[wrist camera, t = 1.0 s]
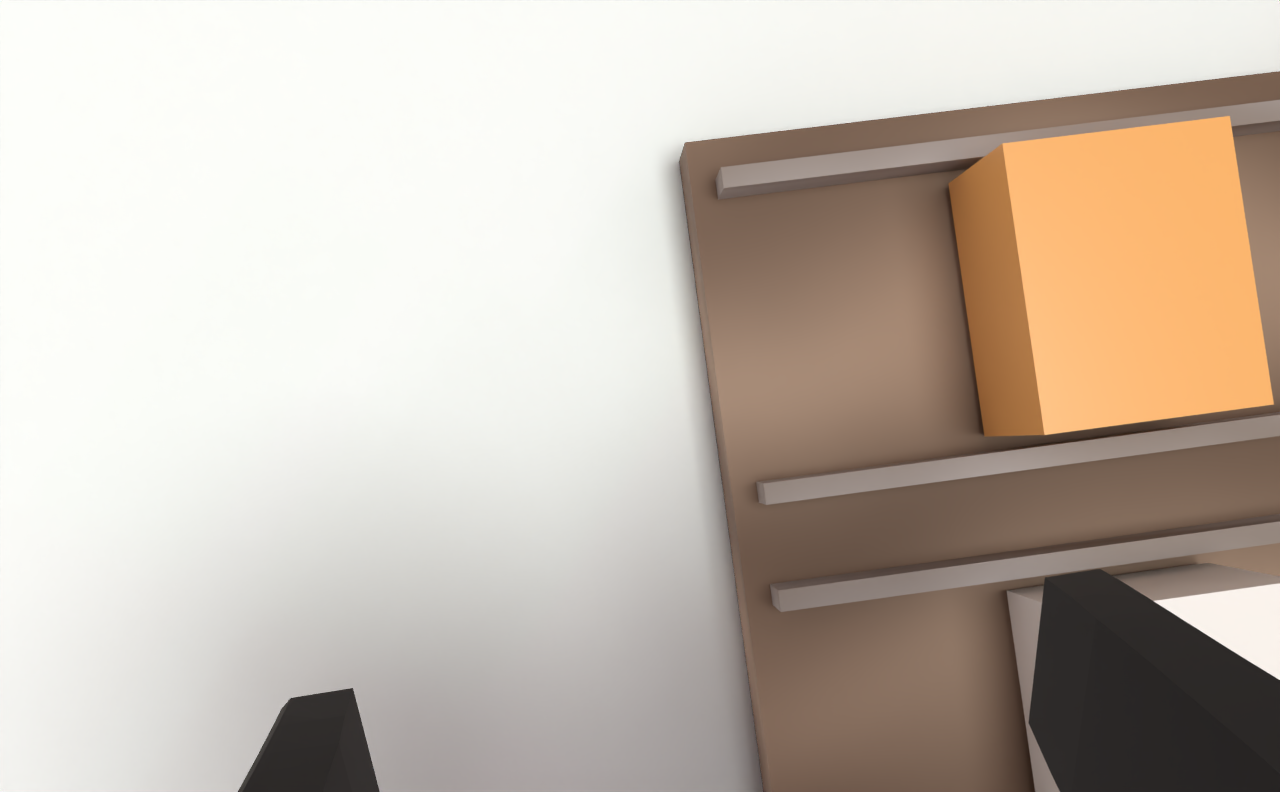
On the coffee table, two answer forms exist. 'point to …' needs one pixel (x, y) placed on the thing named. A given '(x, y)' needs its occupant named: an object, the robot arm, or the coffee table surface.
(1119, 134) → the orange slider
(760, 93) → the coffee table surface
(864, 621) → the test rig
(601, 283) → the coffee table surface
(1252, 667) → the robot arm
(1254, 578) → the white slider
